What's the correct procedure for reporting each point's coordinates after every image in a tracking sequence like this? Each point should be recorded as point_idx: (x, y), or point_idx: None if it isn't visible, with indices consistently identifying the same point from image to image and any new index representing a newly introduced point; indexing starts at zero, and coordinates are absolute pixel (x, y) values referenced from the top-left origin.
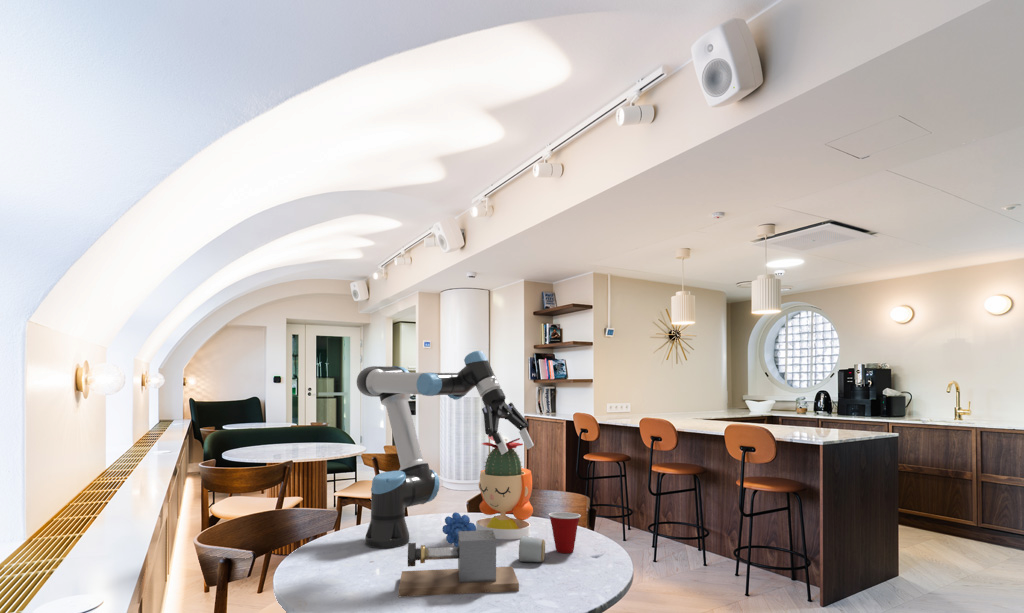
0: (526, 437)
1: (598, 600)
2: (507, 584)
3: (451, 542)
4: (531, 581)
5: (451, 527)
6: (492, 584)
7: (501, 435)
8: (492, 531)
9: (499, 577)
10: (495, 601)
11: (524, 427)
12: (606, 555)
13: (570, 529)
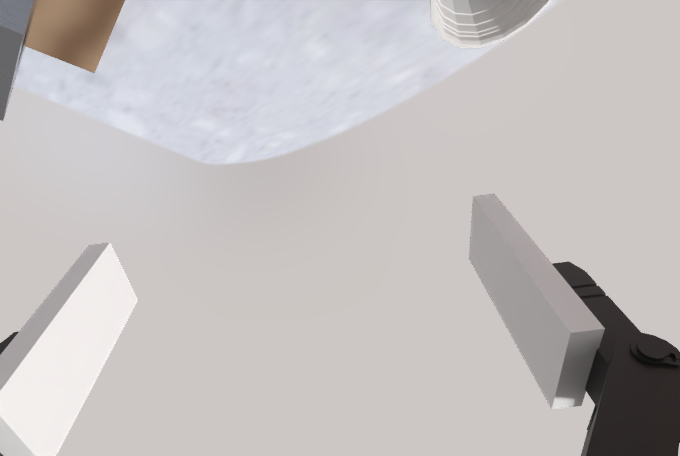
0: (506, 300)
1: (223, 159)
2: (60, 58)
3: None
4: (162, 35)
5: None
6: None
7: (70, 425)
8: (15, 48)
9: (52, 13)
10: None
11: (595, 406)
12: None
13: (449, 4)
